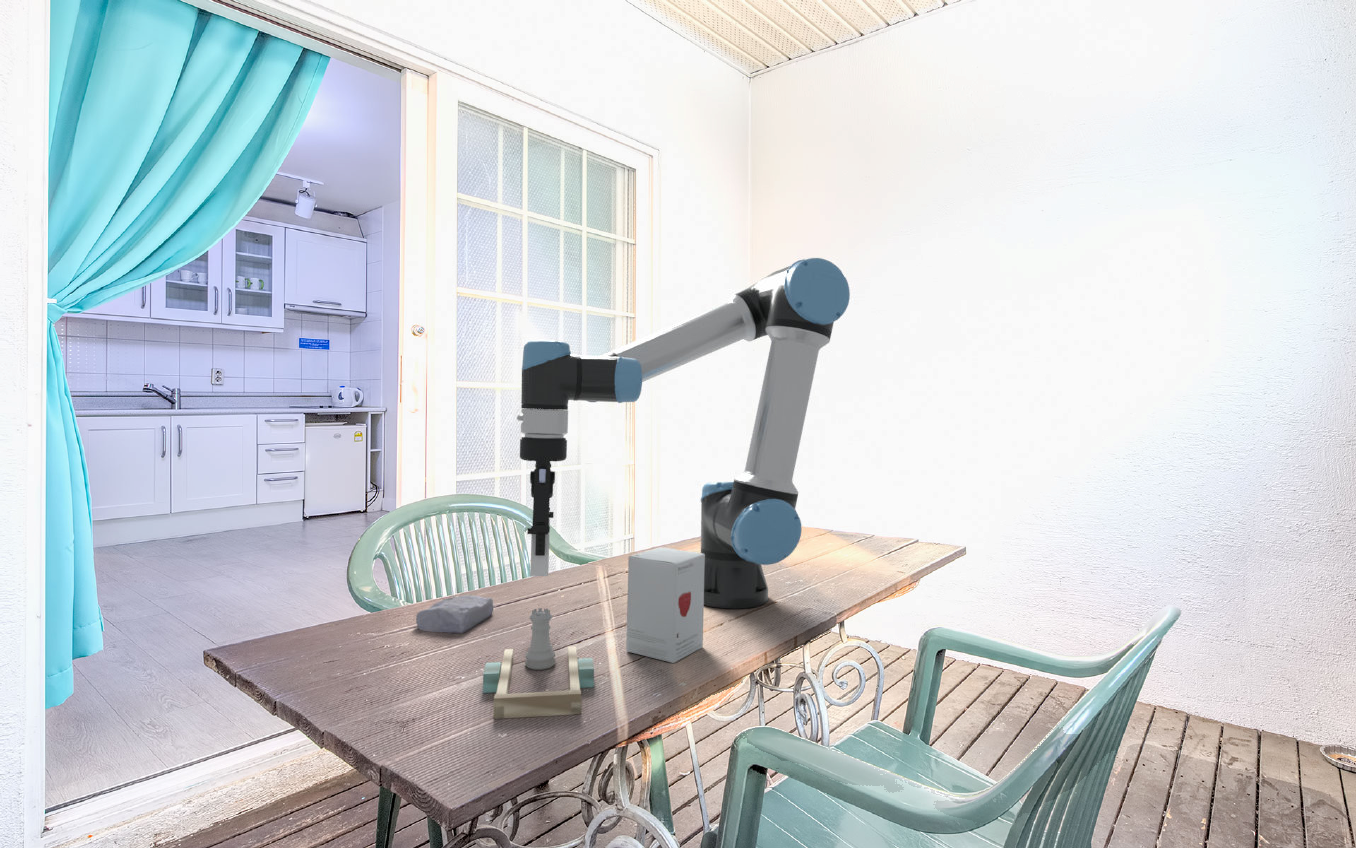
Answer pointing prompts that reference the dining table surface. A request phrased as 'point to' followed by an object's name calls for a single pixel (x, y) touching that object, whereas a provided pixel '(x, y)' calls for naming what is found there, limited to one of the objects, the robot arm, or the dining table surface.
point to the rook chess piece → (540, 642)
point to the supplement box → (665, 603)
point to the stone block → (455, 614)
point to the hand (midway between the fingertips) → (540, 565)
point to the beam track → (537, 701)
